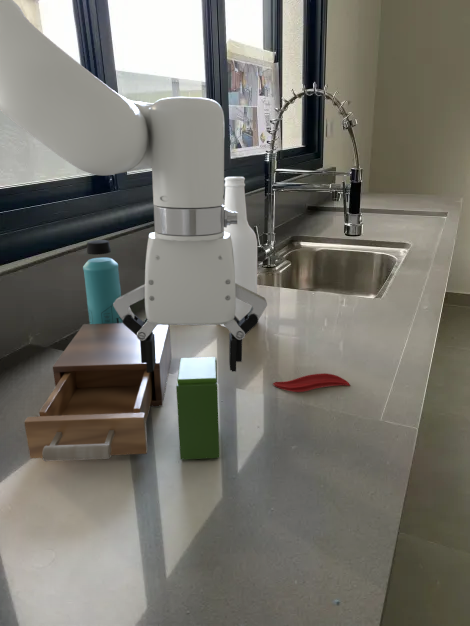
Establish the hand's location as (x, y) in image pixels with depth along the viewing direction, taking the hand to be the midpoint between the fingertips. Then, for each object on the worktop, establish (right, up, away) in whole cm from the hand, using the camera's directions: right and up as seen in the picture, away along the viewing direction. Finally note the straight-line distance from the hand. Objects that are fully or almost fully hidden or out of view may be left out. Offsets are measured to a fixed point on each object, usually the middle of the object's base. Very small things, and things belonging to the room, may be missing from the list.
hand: (192, 367), depth 59 cm
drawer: (-13, -9, +5) cm, 16 cm away
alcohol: (+6, +4, +47) cm, 48 cm away
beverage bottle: (-19, 0, +36) cm, 41 cm away
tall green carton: (+1, -10, +3) cm, 11 cm away
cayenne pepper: (+17, -5, +18) cm, 25 cm away
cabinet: (-13, -4, +21) cm, 25 cm away
